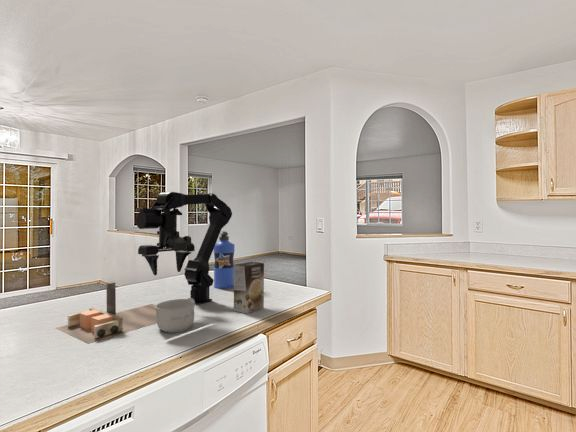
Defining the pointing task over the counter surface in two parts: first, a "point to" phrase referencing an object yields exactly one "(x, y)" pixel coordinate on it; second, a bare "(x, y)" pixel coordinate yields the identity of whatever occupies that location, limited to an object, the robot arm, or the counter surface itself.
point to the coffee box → (248, 287)
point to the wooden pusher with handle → (111, 310)
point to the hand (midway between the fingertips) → (167, 273)
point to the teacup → (175, 315)
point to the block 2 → (100, 320)
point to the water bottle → (224, 263)
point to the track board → (130, 322)
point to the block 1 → (87, 318)
